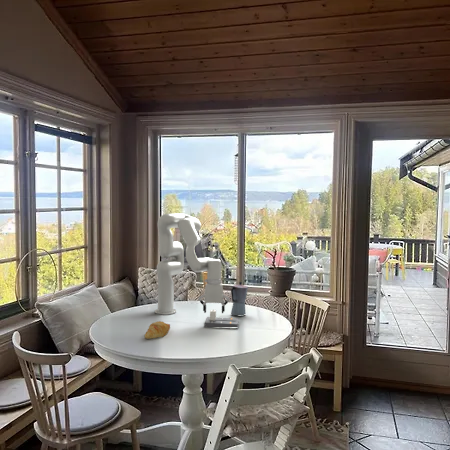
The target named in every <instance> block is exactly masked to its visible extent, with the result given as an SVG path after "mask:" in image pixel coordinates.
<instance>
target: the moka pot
mask: <svg viewBox="0 0 450 450" xmlns="http://www.w3.org/2000/svg"><path fill="white" fill-rule="evenodd" d="M248 290H249V286H247V285H243V282H242V281H239V283H238V284H234V285H232V287H231V289H230V293H231V300H232V301H231V302H232V306H231V311H230V314H232V316H234V315H244V314H246V313H247V312H246V299H247V296H248V295H247V293H248Z"/></svg>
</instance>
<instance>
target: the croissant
mask: <svg viewBox="0 0 450 450" xmlns="http://www.w3.org/2000/svg"><path fill="white" fill-rule="evenodd" d="M170 329H171V324H169V323H165V322H164V321H160V320H159V321H155V322H152V323H151V324H150V325H149V326H148V329H147V331H146V332H145V334H144V339H147V340H151V339H158V338H163V337H164V336H166V335H167V334H168V333H169V331H170Z"/></svg>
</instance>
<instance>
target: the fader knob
mask: <svg viewBox="0 0 450 450" xmlns="http://www.w3.org/2000/svg"><path fill="white" fill-rule="evenodd" d="M209 317H210V320H212V321H215V320H216V317H217V310H216V309H210V312H209Z"/></svg>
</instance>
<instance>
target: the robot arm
mask: <svg viewBox="0 0 450 450" xmlns="http://www.w3.org/2000/svg"><path fill="white" fill-rule="evenodd" d="M174 228H175V229H178V230H179V232H180V235H181V236H182V239H183V240H184V243H185V245H186V249H184V246H183V244H182V243H181V242H180V241H174V234H173V231H172V229H174ZM201 228H202V224H201V222H200V220H199V219H198V218H196V217H194V216H191V215H188V214H186V213H164V214H162V215H161V216H159V217H158V220H157V230H158V253H159V254H158V255H159V256H160V257H161V258H163V260H161V261H159V262H158V263H157V264H156V273H157V308H156V309H155V310H154V312H155V314H157V315H173V314H176V312H177V310H176V309H175V308H174V307H175V306H174V303H175V301H174V300H175V298H174V296H175V295H174V294H175V293H174V291H175V282H174V279H173V277H172V276H176V275H180V274H182V273H183V271H184V268H185V264H184V263H185V259H186V262H187V264H188V266H189V268H190V269H191V270H192V271H193V272H194V273H201V272H207V277H206V279H205V278H204V283H206V284H205V287H204V294H202V295H200V296H198V298H197V299H198V301H199V303H200V304H201V305H202V306H203V307H202V311H203V313H204V314H206V313H207V304H208V303H209V304H221V314H224V312H225V311H226V307H225V306H226V305H227V304H228V303H229V302H230V298H231V297H229V296H227V295H225V294H224V288H223V287H224V285H223V283H222V260H221V259H218V258H212V257H198V256H197V255H196V252H195V247H196V246H197V245H199V244H200V243H201V238H200V236H199V234H198V232H199V231H200V230H201ZM184 251H185V252H184ZM184 255H185V256H184ZM167 258H171V259H167ZM184 258H185V259H184ZM164 259H165V260H164ZM203 299H204V300H203ZM224 299H226V300H225V302H224Z"/></svg>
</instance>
